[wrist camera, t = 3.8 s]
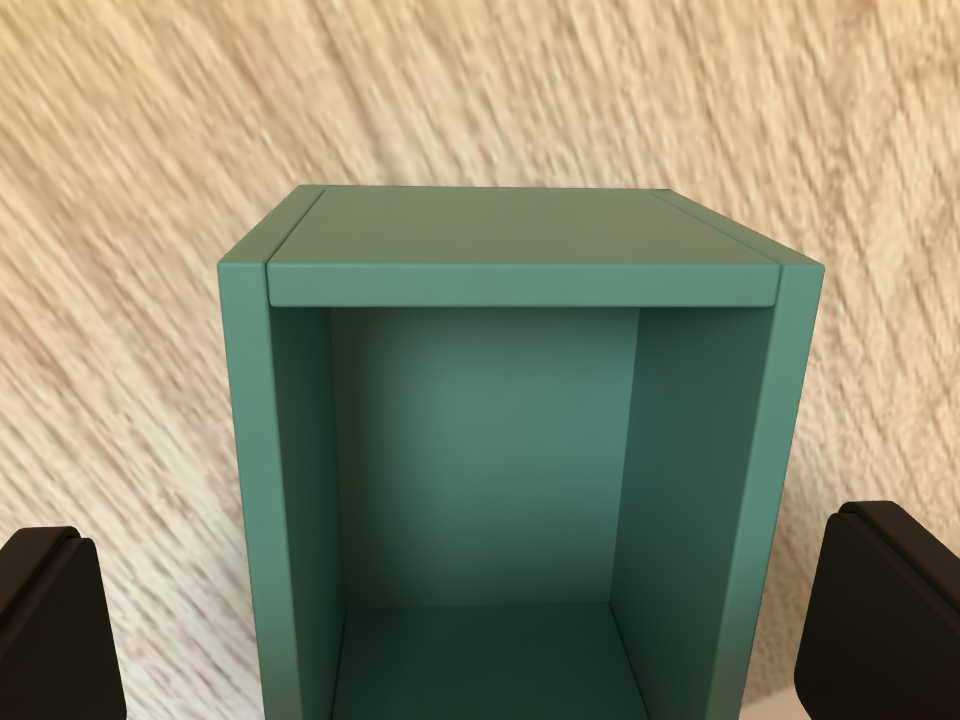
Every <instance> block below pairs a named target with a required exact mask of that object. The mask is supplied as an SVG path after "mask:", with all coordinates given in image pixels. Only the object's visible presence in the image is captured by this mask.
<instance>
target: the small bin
mask: <svg viewBox="0 0 960 720" xmlns="http://www.w3.org/2000/svg"><path fill="white" fill-rule="evenodd" d="M824 273H825V266H824V265H823V264H821V263H819V262H817V261H815V260H813V259H811V258H809V257H807V256H805V255H802V254H800V253H798V252H796V251H794V250H792V249H790V248H788V247H786V246H784V245H782V244H780V243H778V242H776V241H774V240H772V239H770V238H768V237H766V236H764V235H762V234H760V233H758V232H755V231H753V230H751V229H749V228H747V227H745V226H743V225H741V224H739V223H737V222H735V221H733V220H731V219H729V218H727V217H725V216H723V215H721V214H719V213H717V212H715V211H713V210H711V209H708V208H706V207H704V206H702V205H700V204H698V203H696V202H694V201H692V200H690V199H688V198H686V197H684V196H682V195H680V194H678V193H676V192H674V191H672V190H670V189H597V188H514V187H432V186H349V185H299V186H297V187H296V188H295V189H294V190H293V191H292V192H291V193H290V194H289V195H288V196H287V197H286V198H285V199H284V200H283V201H282V202H281V203H280V204H279V205H277V206H276V207H275V208H274V209H273V210H272V211H271V212H270V213H269V214H268V215H267V216H266V217H265V218H264V219H263V220H262V221H261V222H260V223H259V224H257V225H256V226H255V227H254V228H253V229H252V230H251V231H250V232H249V233H248V234H247V235H246V236H245V237H244V238H243V239H242V240H241V241H240V242H239V243H237V244H236V245H235V246H234V247H233V248H232V249H231V250H230V251H229V252H228V253H227V254H226V255H225V256H224V257H223V258H222V259H221V260H220V261H218V263H217V274H218V283H219V293H220V302H221V311H222V321H223V330H224V339H225V349H226V358H227V368H228V377H229V386H230V396H231V405H232V414H233V424H234V433H235V443H236V452H237V461H238V471H239V480H240V489H241V499H242V508H243V517H244V527H245V536H246V546H247V555H248V564H249V574H250V583H251V592H252V602H253V611H254V621H255V630H256V639H257V649H258V658H259V667H260V677H261V686H262V695H263V705H264V714H265V720H738V719H739V713H740V708H741V703H742V698H743V693H744V688H745V682H746V677H747V672H748V667H749V662H750V656H751V651H752V646H753V641H754V636H755V630H756V625H757V620H758V615H759V610H760V605H761V599H762V594H763V589H764V584H765V579H766V573H767V568H768V563H769V558H770V553H771V548H772V542H773V537H774V532H775V527H776V522H777V516H778V511H779V506H780V501H781V496H782V490H783V485H784V480H785V475H786V470H787V465H788V459H789V454H790V449H791V444H792V439H793V433H794V428H795V423H796V418H797V413H798V407H799V402H800V397H801V392H802V387H803V382H804V376H805V371H806V366H807V361H808V356H809V350H810V345H811V340H812V335H813V330H814V324H815V319H816V314H817V309H818V304H819V299H820V293H821V288H822V283H823V278H824Z"/></svg>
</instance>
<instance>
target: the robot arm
mask: <svg viewBox="0 0 960 720" xmlns="http://www.w3.org/2000/svg"><path fill="white" fill-rule="evenodd" d="M794 684H795V689H796V692H797V695H798V698H799V700H800V702H801V704H802V705H803V707H804V708H805V710H806V712H807V713H808V715H809V716H810V718H811V720H960V559H959V558H958V557H957V556H956V555H955V554H953V553H952V552H951V551H950V550H949V549H948V548H947V547H946V546H944V545H943V544H942V543H941V542H940V541H939V540H938V539H936V538H935V537H934V536H933V535H932V534H931V533H930V532H929V531H927V530H926V529H925V528H924V527H923V526H922V525H921V524H919V523H918V522H917V521H916V520H915V519H914V518H913V517H912V516H910V515H909V514H908V513H907V512H906V511H905V510H904V509H902V508H901V507H900V506H899V505H898V504H896V503H894V502H893V501H856V502H847V503H845V504H843V505H842V506H841V507H840V509H839V511H838V513H834V514H832V515H831V516H830V517H829V518H828V521H827V524H826V528H825V533H824V537H823V542H822V546H821V551H820V556H819V560H818V565H817V569H816V574H815V578H814V583H813V587H812V592H811V597H810V601H809V606H808V610H807V615H806V619H805V624H804V629H803V633H802V638H801V642H800V647H799V651H798V656H797V661H796V665H795V670H794ZM126 719H127V710H126V702H125V697H124V692H123V687H122V681H121V676H120V671H119V666H118V660H117V655H116V650H115V645H114V640H113V634H112V629H111V624H110V619H109V613H108V608H107V603H106V598H105V592H104V587H103V582H102V577H101V571H100V566H99V561H98V556H97V550H96V547H95V543H94V542H93V540H92V539H90V538H81V536H80V533H79V532H78V530H77V529H76V528H74V527H72V526H64V527H32V528H22V529H19V530H18V531H17V532H16V533H14V534H13V536H12V537H11V538H10V539H9V540H8V541H7V543H6V544H5V545H4V546H3V547H2V549H1V550H0V720H126Z"/></svg>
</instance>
